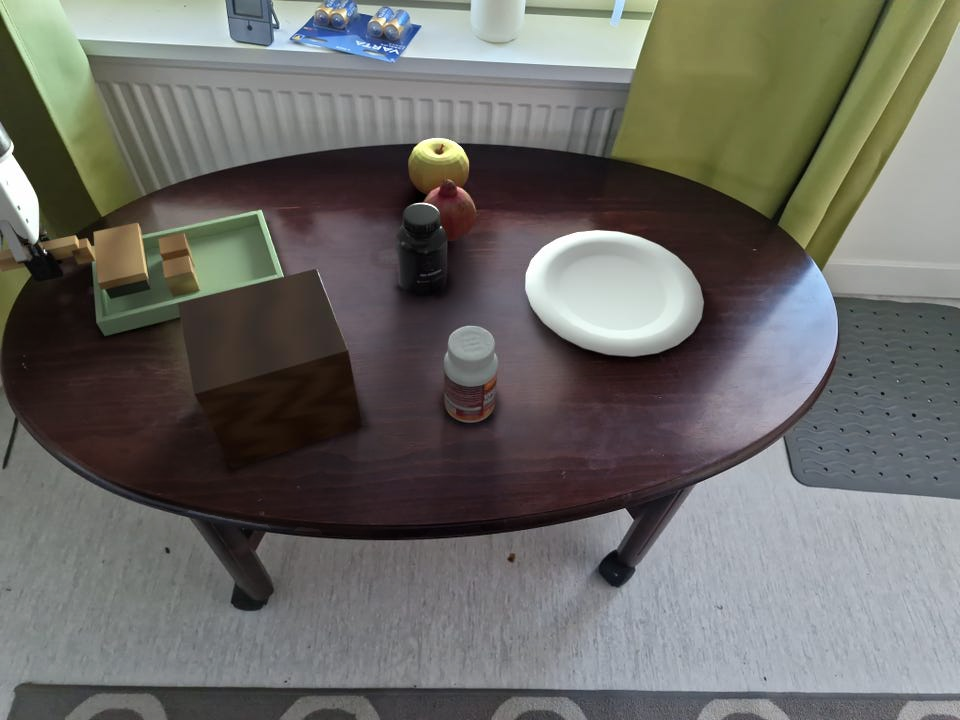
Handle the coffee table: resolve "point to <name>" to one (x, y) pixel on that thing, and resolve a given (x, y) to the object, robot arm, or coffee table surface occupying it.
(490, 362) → the pill bottle
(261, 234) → the tray
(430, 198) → the fruit
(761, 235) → the coffee table surface
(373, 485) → the coffee table surface
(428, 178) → the apple
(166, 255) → the brown cube
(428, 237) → the supplement bottle
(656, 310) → the plate
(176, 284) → the cork block
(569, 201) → the coffee table surface
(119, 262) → the brush
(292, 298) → the stand
